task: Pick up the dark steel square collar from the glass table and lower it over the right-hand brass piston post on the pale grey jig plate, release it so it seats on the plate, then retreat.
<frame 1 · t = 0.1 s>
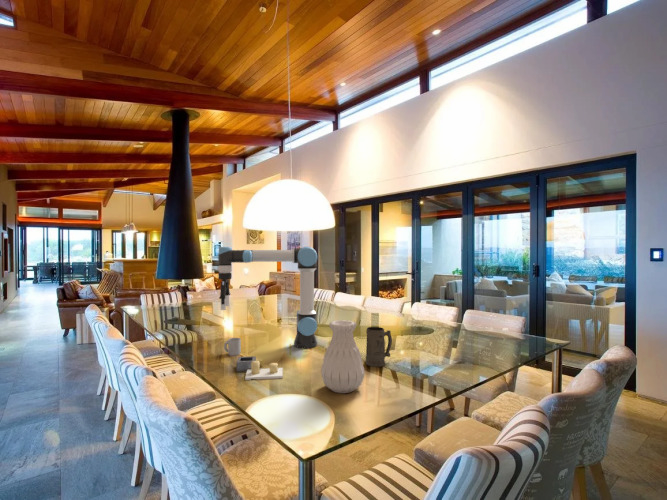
hand: (225, 307, 215), 28 cm above the table, fingers open, 13 cm apart
jig: (264, 374, 180), on the table
collar: (246, 368, 190), on the table
cup: (232, 354, 216), on the table
beer stein: (378, 363, 199), on the table
vase: (342, 389, 163), on the table
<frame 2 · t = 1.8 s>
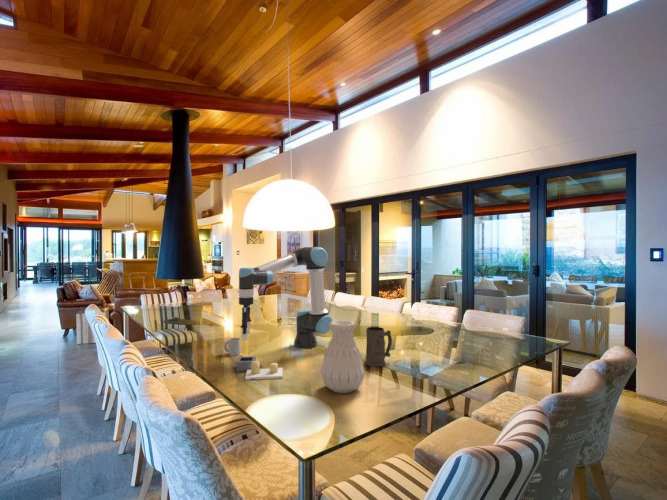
hand: (246, 337, 190), 17 cm above the table, fingers open, 13 cm apart
nothing on the table moved.
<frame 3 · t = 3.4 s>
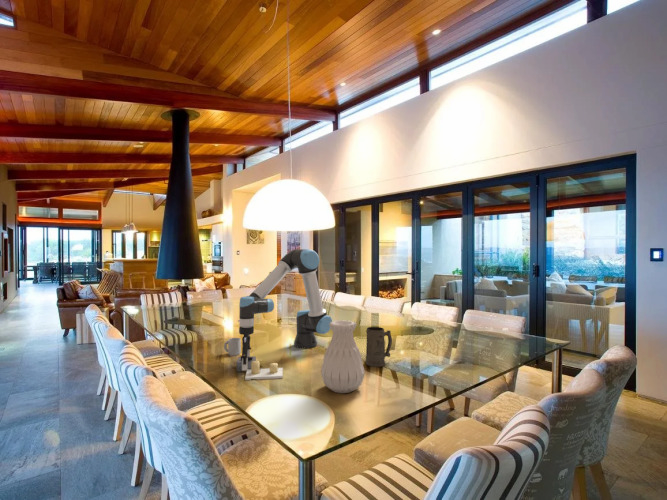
hand: (245, 366, 190), 1 cm above the table, fingers open, 13 cm apart
nothing on the table moved.
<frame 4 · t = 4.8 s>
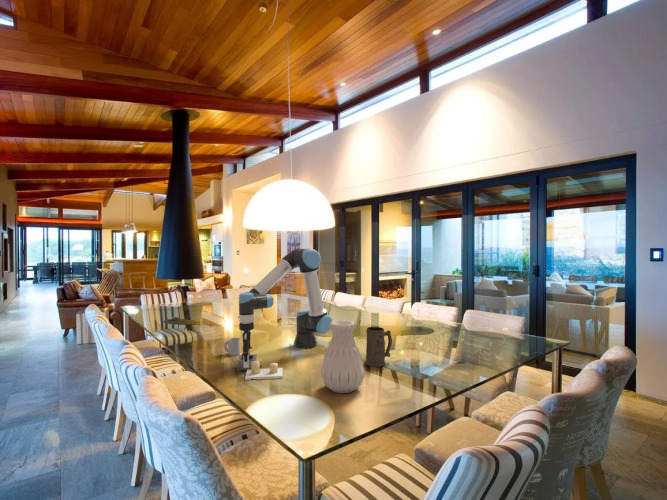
hand: (247, 364, 190), 2 cm above the table, fingers closed on collar, 9 cm apart
collar: (247, 366, 190), point 1 cm above the table, touching gripper
everything else where it was.
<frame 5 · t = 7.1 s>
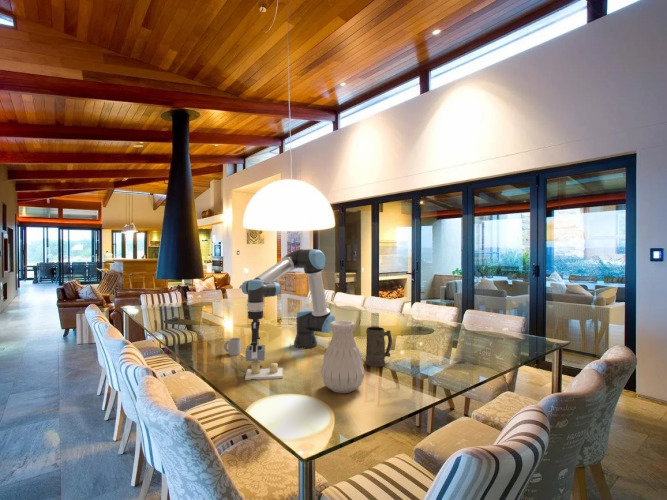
hand: (255, 355, 180), 10 cm above the table, fingers closed on collar, 9 cm apart
collar: (255, 357, 180), point 9 cm above the table, touching gripper
everything else where it was.
when the fingers open (2 cm above the table, at t = 9.2 s): collar stays where it is, resting on jig.
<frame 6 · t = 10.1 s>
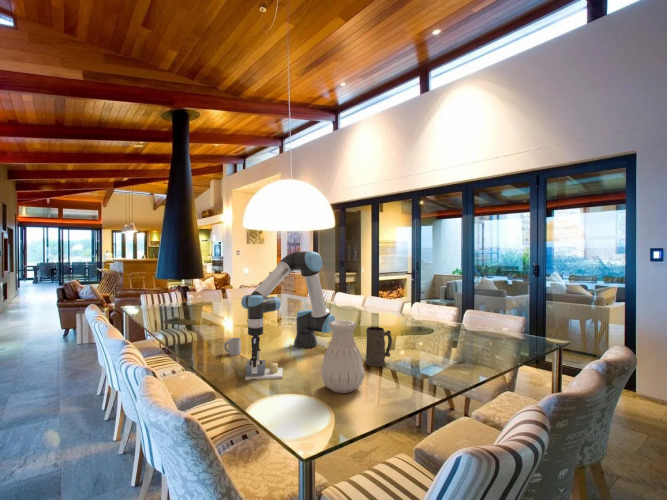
hand: (255, 368, 180), 3 cm above the table, fingers open, 13 cm apart
collar: (255, 372, 180), point 1 cm above the table, touching jig
everything else where it was.
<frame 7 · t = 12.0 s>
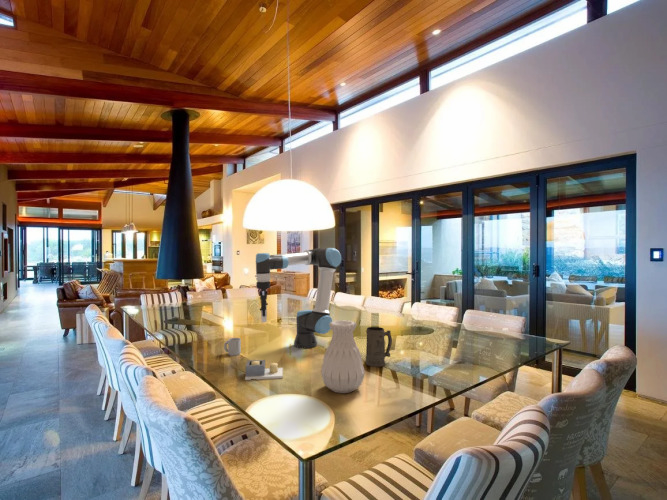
hand: (264, 319, 198), 24 cm above the table, fingers open, 13 cm apart
nothing on the table moved.
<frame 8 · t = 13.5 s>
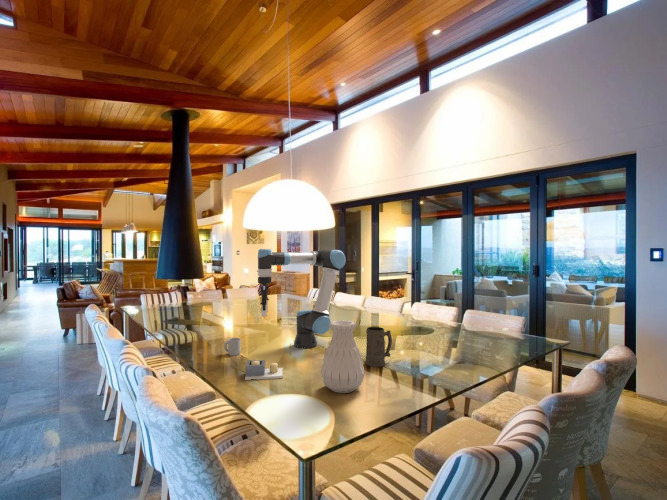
hand: (264, 314, 202), 27 cm above the table, fingers open, 13 cm apart
nothing on the table moved.
at the end: collar 0.1 cm from the target spot on the jig, point 1.2 cm above the jig's base; collar tilted 0°; the gripper is holding nothing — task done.
